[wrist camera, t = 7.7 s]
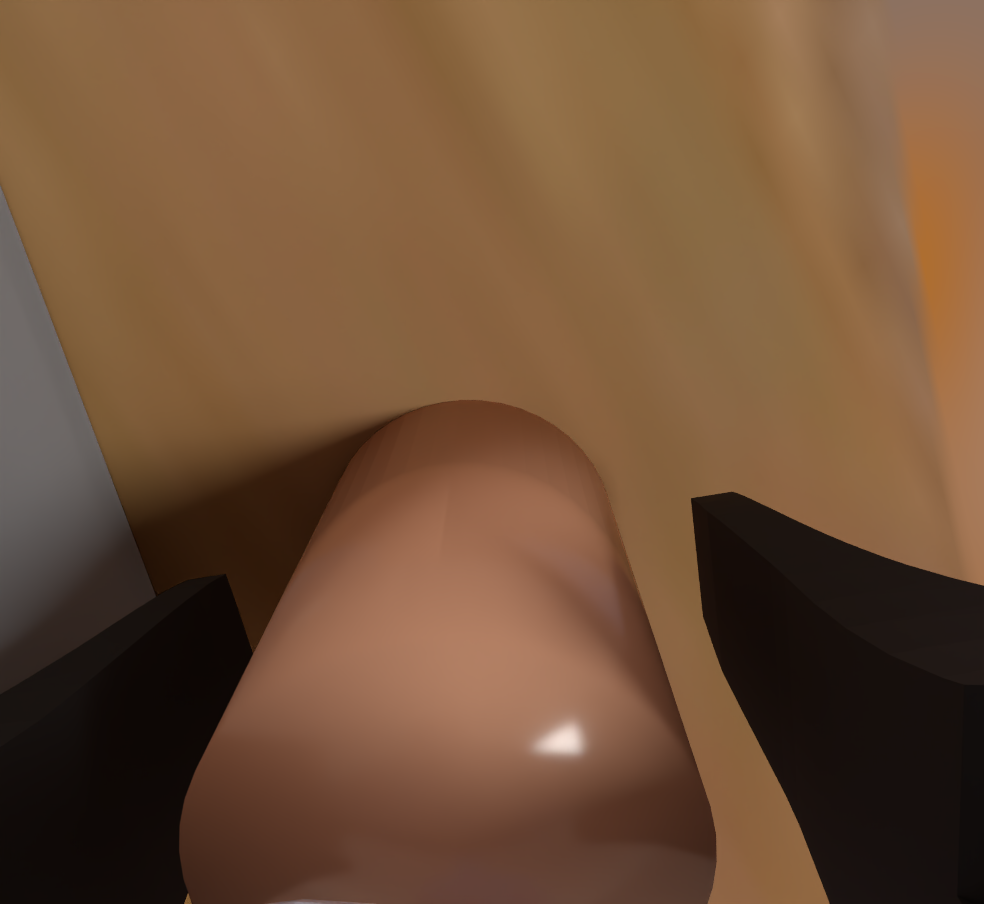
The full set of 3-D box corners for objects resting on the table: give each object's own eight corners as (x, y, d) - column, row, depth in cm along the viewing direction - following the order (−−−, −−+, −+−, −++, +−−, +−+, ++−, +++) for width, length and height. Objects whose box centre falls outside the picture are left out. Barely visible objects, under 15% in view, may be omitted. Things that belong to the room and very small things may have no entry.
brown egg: (628, 633, 15) (736, 1018, 8) (366, 672, 15) (265, 1074, 8) (591, 375, 13) (690, 599, 6) (297, 427, 13) (100, 691, 7)
